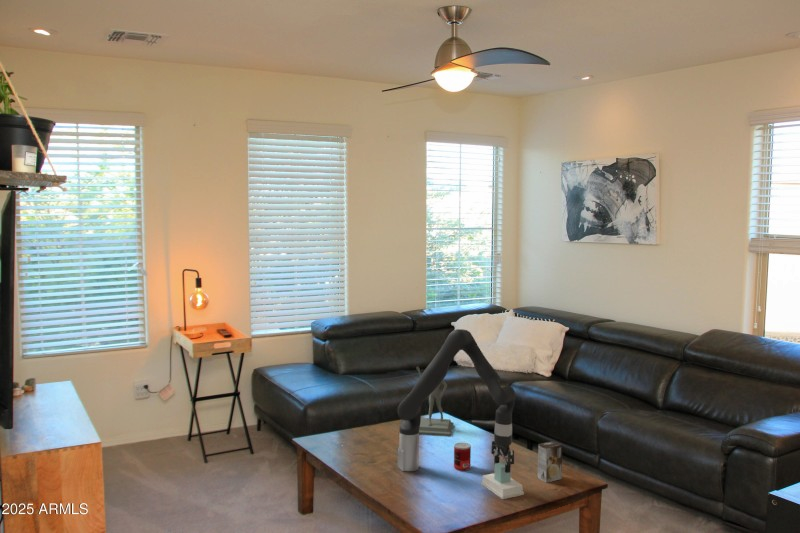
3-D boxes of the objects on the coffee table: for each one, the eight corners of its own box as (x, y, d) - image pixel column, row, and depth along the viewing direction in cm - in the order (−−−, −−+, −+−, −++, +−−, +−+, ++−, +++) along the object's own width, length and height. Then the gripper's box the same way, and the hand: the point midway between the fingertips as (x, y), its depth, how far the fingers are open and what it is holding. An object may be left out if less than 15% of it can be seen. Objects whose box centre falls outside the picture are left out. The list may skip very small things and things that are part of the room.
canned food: (472, 466, 314) (472, 443, 313) (467, 472, 307) (467, 449, 306) (457, 463, 317) (457, 441, 316) (451, 469, 310) (451, 446, 309)
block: (500, 483, 285) (501, 467, 284) (494, 479, 289) (494, 463, 289) (510, 481, 287) (510, 465, 286) (503, 477, 291) (504, 461, 291)
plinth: (502, 499, 278) (502, 490, 278) (481, 483, 294) (481, 475, 293) (524, 494, 283) (524, 485, 283) (502, 479, 298) (502, 471, 298)
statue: (412, 434, 359) (413, 369, 356) (417, 422, 378) (418, 361, 375) (450, 436, 355) (451, 371, 352) (453, 425, 374) (454, 363, 371)
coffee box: (552, 474, 305) (553, 440, 304) (562, 479, 299) (563, 444, 298) (536, 478, 301) (537, 443, 299) (546, 483, 295) (547, 448, 294)
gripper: (487, 428, 291) (486, 464, 292) (505, 439, 278) (503, 476, 280) (501, 426, 294) (500, 461, 296) (520, 436, 281) (518, 473, 283)
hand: (502, 468), depth 288 cm, fingers open, 8 cm apart
